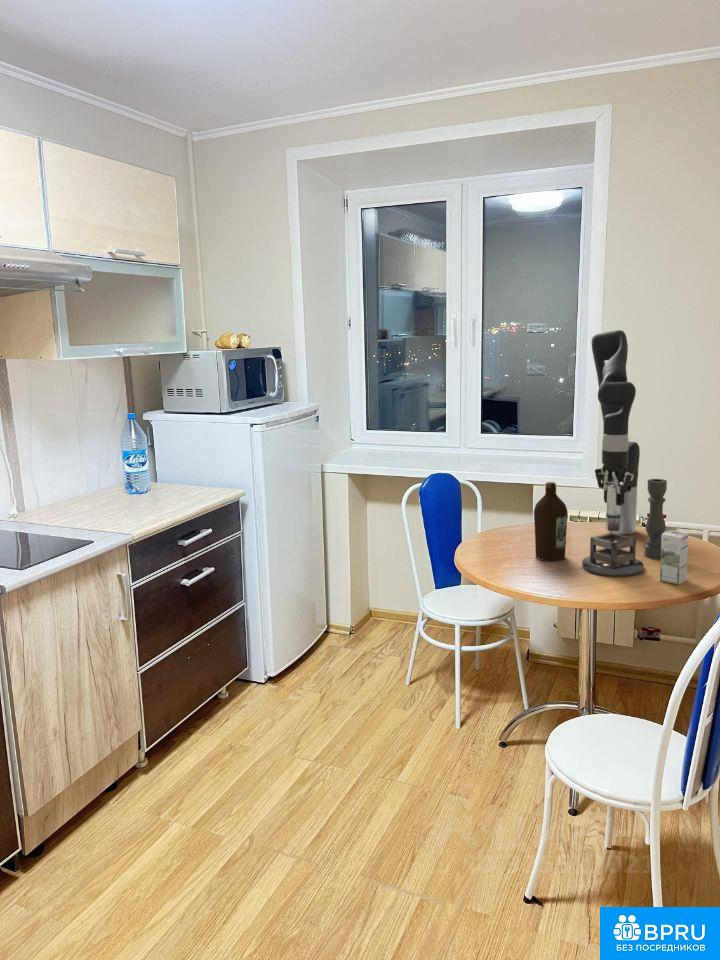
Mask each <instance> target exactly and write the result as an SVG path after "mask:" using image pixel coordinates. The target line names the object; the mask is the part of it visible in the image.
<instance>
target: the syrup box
mask: <svg viewBox="0 0 720 960" xmlns="http://www.w3.org/2000/svg"><path fill="white" fill-rule="evenodd" d="M688 548H689V532H683V531H677V530H672V529H671V530H665V532H664V533H663V534H662V536H661V559H660V566H659V567H660V569H659V570H660V572H659V573H660V574H659V581H660V582H664V583H669V584H673V585H678V586H679V585H681V584H683V583H685V582H686V581H687V579H688V577H687V576H688V574H687V573H688V572H687V571H688V569H687V568H688V552H689V551H688V550H689V549H688ZM685 580H686V581H685ZM682 582H683V583H682Z"/></svg>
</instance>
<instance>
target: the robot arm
mask: <svg viewBox="0 0 720 960" xmlns="http://www.w3.org/2000/svg"><path fill="white" fill-rule="evenodd" d="M590 343H591V351H592V356H593V362H594V367H595V371H596V376H597V377H596V378H597V383H598V389H597V400H598V402H599V405H600V410H601V414H602V421H603V431H602V432H603V433H602V441H601V443H602V444H601V446H602V447H601V464H602V467H601V468H596V469H595V470H594V473H595V477H596V482H597V486H598V488H599V489H602V490H603V501H604V503H605V504H607V485H608V484H615V486H616V489H617V493H618V494H617V500H616V505H618V506H621V508H620V514H621V518H620V531H609V533H611V532H612V533H616V534H620V535H632V534H636V531H637V505H638V504H637V503H638V501H637V500H638V479H639V468H640V467H639V466H640V456H641V455H640V453H641V452H640V450H641V449H640V445H639V444H638V442H636V441H630V440H629V439H630V438H629V419H630V414H631V411H632V407H633V404H634V400H635V398H636V392H637V391H636V387H635V385H634V384H633V383H632V382H631V381H628V375H627V362H628V353H629V352H628V351H629V347H628V338H627V335H626V333H625V332H624V331H623V330H620V329H618V330H611V331H605V332H601V333H595V334H593V335H592V337H591V342H590ZM620 486H621V487H620Z"/></svg>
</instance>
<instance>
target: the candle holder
mask: <svg viewBox="0 0 720 960" xmlns="http://www.w3.org/2000/svg"><path fill="white" fill-rule="evenodd" d="M667 486H668V481H667V480H666V479H664V478H649V479H647V491H648V492H647V493H648V494H649V496H650V497H648V498H647V501H648V502H649V513H648V517H647V520H646V522H645V523H646V524H645V531H646V533H647V536H648V537H647V538H646V540H645V544H644V557H646V558H647V559H648V558H649V559H654V560H656V559H657V560H658V559H660V560H661V536H662V534H663V533H664V532H666V531H667V530H666V528H667V526H666V522H665V518H664V513H663V512H664V511H663V510H664V509H663V506H664V503H665V502H666V498H665V497H664V496H665V494H666V492H667Z"/></svg>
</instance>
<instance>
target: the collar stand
mask: <svg viewBox="0 0 720 960" xmlns="http://www.w3.org/2000/svg"><path fill="white" fill-rule="evenodd" d="M589 541H590V547H589V555H590V556H586V557H584V558H583V559H582V562H581V567H582V569H583V570H584V571H586V572H588V573H590V574H593V575H598V576H603V577H611V578H612V577H613V578H627V577H633V576H638V575H640V574H641V573H643V572H644V562H642V561H641V560H639V559H637V558H636V555H637V554H636V553H637V552H636V549H637V539H636V538H634V537H630V536H626V535H624V534H616V533H612V532H608V533H604V534H599V535H596V536H595V535H594V536H591V537H590V540H589ZM597 547H600V548H598V549H597ZM626 548H629V550H626Z"/></svg>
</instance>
